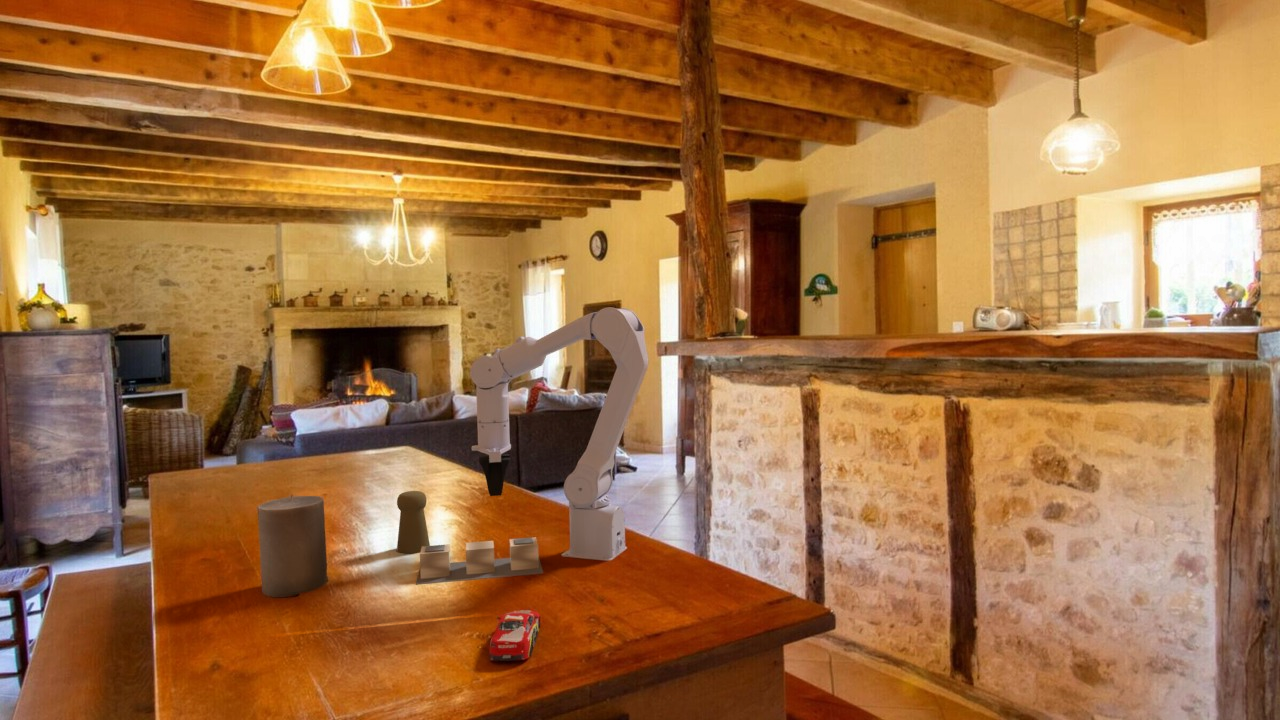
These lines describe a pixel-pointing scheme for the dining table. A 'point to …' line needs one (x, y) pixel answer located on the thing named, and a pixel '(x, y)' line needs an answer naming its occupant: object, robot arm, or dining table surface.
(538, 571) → the mat
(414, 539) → the brown game pawn
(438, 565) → the marked block 1
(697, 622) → the dining table surface
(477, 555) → the plain block
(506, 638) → the race car
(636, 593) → the dining table surface
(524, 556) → the marked block 2
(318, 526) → the pillar candle
